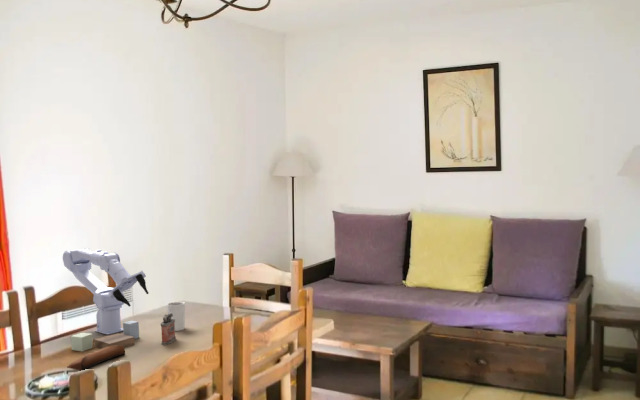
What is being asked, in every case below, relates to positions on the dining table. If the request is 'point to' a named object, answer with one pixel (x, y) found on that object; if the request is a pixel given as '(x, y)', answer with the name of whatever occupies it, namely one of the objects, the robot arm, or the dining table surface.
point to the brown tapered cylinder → (97, 357)
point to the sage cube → (82, 341)
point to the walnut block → (114, 340)
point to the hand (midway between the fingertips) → (138, 298)
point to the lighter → (168, 329)
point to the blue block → (131, 329)
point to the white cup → (177, 314)
